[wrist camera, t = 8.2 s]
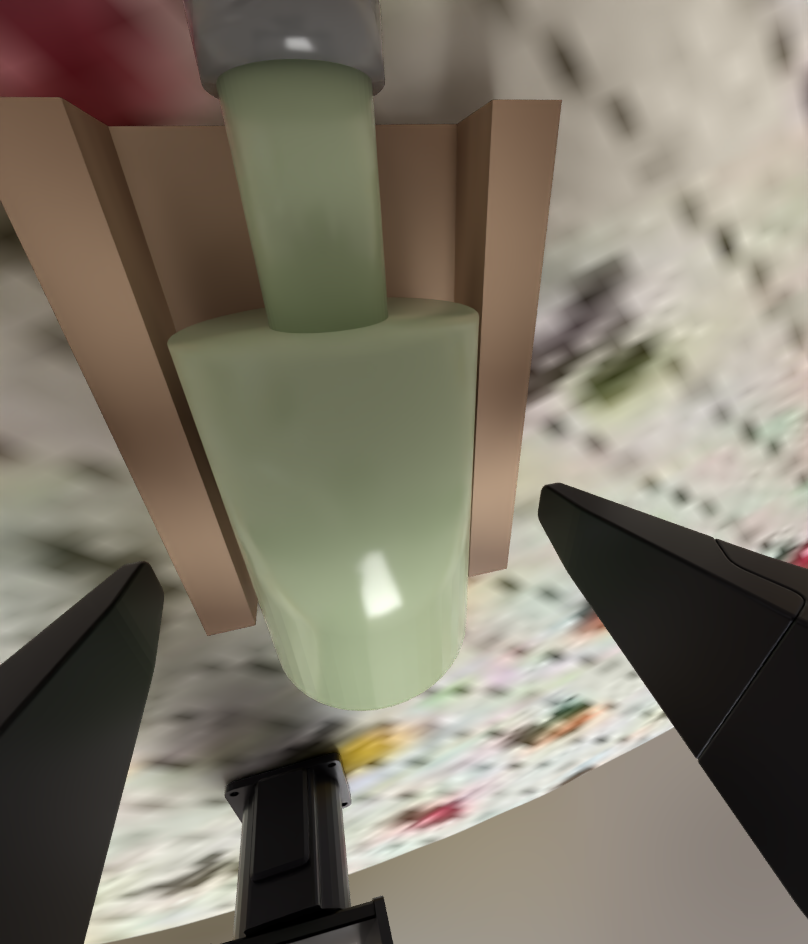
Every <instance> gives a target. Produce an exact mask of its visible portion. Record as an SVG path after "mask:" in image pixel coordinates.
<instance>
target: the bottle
mask: <svg viewBox="0 0 808 944" xmlns="http://www.w3.org/2000/svg"><path fill="white" fill-rule="evenodd" d="M183 6H184V10H185V14H186V18H187V23H188V27H189V31H190V36H191V40H192V44H193V48H194V53H195V57H196V61H197V66H198V70H199V74H200V79H201V83H202V86H203V88H204V89H205V90H206V91H207V92H208V93H209V94H211V95H212V96H214V97H216V98H218V99H219V100H220V105H221V109H222V114H223V118H224V123H225V127H226V132H227V137H228V141H229V146H230V150H231V155H232V159H233V164H234V168H235V173H236V178H237V182H238V187H239V191H240V196H241V200H242V205H243V209H244V214H245V219H246V223H247V228H248V232H249V237H250V241H251V246H252V251H253V255H254V260H255V264H256V269H257V273H258V278H259V282H260V287H261V292H262V296H263V301H264V305H265V308H259V309H253V310H248V311H243V312H238V313H233V314H229V315H225V316H221V317H217V318H213V319H210V320H206V321H203V322H200V323H197V324H194V325H192V326H189V327H186V328H184V329H182V330H180V331H178V332H177V333H175V334H174V335H172V336H171V337H170V338H169V339H168V342H167V345H168V348H169V351H170V354H171V357H172V360H173V362H174V365H175V368H176V371H177V374H178V376H179V379H180V382H181V385H182V388H183V391H184V393H185V396H186V399H187V402H188V405H189V407H190V410H191V413H192V416H193V419H194V422H195V424H196V427H197V430H198V433H199V436H200V439H201V441H202V444H203V447H204V450H205V453H206V455H207V458H208V461H209V464H210V467H211V470H212V472H213V475H214V478H215V481H216V484H217V486H218V489H219V492H220V495H221V498H222V501H223V503H224V506H225V509H226V512H227V515H228V517H229V520H230V523H231V526H232V529H233V532H234V534H235V537H236V540H237V543H238V546H239V548H240V551H241V554H242V557H243V560H244V563H245V565H246V568H247V571H248V574H249V577H250V579H251V582H252V585H253V588H254V591H255V594H256V596H257V599H258V602H259V605H260V608H261V610H262V613H263V616H264V619H265V622H266V625H267V627H268V630H269V633H270V636H271V639H272V641H273V644H274V647H275V650H276V653H277V656H278V658H279V661H280V663H281V666H282V668H283V670H284V672H285V673H286V675H287V676H288V678H289V679H290V681H291V682H292V683H293V684H294V685H295V686H296V687H297V688H298V689H299V690H300V691H302V692H303V693H304V694H306V695H307V696H308V697H310V698H312V699H314V700H316V701H317V702H319V703H322V704H325V705H328V706H331V707H334V708H339V709H344V710H355V711H366V710H378V709H382V708H387V707H392V706H395V705H397V704H400V703H403V702H406V701H408V700H410V699H412V698H414V697H416V696H418V695H420V694H421V693H423V692H424V691H425V690H427V689H428V688H430V687H431V686H433V685H434V684H435V683H436V682H437V681H438V680H439V679H440V678H441V677H442V676H443V675H444V674H445V673H446V672H447V670H448V669H449V668H450V667H451V665H452V664H453V662H454V660H455V659H456V657H457V655H458V653H459V651H460V648H461V646H462V643H463V639H464V635H465V628H466V612H467V589H468V565H469V542H470V519H471V495H472V472H473V449H474V425H475V402H476V379H477V355H478V332H479V314H478V312H477V311H476V310H474V309H473V308H471V307H469V306H466V305H463V304H459V303H455V302H450V301H443V300H435V299H424V298H405V297H387V290H386V276H385V261H384V247H383V233H382V218H381V204H380V189H379V175H378V160H377V146H376V132H375V117H374V103H373V96H375V95H376V94H378V93H379V92H380V91H381V90H382V89H383V87H384V85H385V77H384V59H383V42H382V24H381V7H380V3H379V0H183Z"/></svg>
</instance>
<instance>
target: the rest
mask: <svg viewBox="0 0 808 944" xmlns="http://www.w3.org/2000/svg"><path fill="white" fill-rule="evenodd" d="M561 103H562V100H492V101H490V102H489V103H487V104H486V105H484V106H483V107H481V108H480V109H478V110H477V111H475V112H474V113H472V114H471V115H470V116H468V117H467V118H465V119H464V120H462V121H461V122H459V123H458V124H391V125H375V132H376V146H377V160H378V175H379V189H380V204H381V218H382V233H383V247H384V261H385V276H386V290H387V297H405V298H424V299H435V300H443V301H450V302H455V303H459V304H463V305H466V306H469V307H471V308H473V309H474V310H476V311H477V312H478V314H479V332H478V355H477V379H476V402H475V425H474V449H473V472H472V495H471V519H470V542H469V565H468V576H469V577H471V576H476V575H480V574H484V573H489V572H493V571H498V570H502V569H507V563H508V554H509V546H510V537H511V529H512V520H513V512H514V503H515V495H516V486H517V478H518V469H519V461H520V452H521V444H522V435H523V426H524V418H525V409H526V401H527V392H528V384H529V375H530V367H531V358H532V350H533V341H534V333H535V324H536V316H537V307H538V299H539V290H540V282H541V273H542V265H543V256H544V248H545V239H546V231H547V222H548V214H549V205H550V197H551V188H552V180H553V171H554V163H555V154H556V146H557V137H558V128H559V120H560V111H561ZM0 200H1V202H2V204H3V206H4V209H5V211H6V213H7V215H8V217H9V219H10V221H11V223H12V225H13V228H14V230H15V232H16V234H17V236H18V238H19V240H20V242H21V244H22V246H23V249H24V251H25V253H26V255H27V257H28V259H29V261H30V263H31V265H32V268H33V270H34V272H35V274H36V276H37V278H38V280H39V282H40V284H41V286H42V289H43V291H44V293H45V295H46V297H47V299H48V301H49V303H50V305H51V308H52V310H53V312H54V314H55V316H56V318H57V320H58V322H59V324H60V326H61V329H62V331H63V333H64V335H65V337H66V339H67V341H68V343H69V345H70V348H71V350H72V352H73V354H74V356H75V358H76V360H77V362H78V364H79V366H80V369H81V371H82V373H83V375H84V377H85V379H86V381H87V383H88V385H89V388H90V390H91V392H92V394H93V396H94V398H95V400H96V402H97V404H98V406H99V409H100V411H101V413H102V415H103V417H104V419H105V421H106V423H107V425H108V428H109V430H110V432H111V434H112V436H113V438H114V440H115V442H116V444H117V446H118V449H119V451H120V453H121V455H122V457H123V459H124V461H125V463H126V465H127V468H128V470H129V472H130V474H131V476H132V478H133V480H134V482H135V484H136V486H137V489H138V491H139V493H140V495H141V497H142V499H143V501H144V503H145V505H146V507H147V510H148V512H149V514H150V516H151V518H152V520H153V522H154V524H155V526H156V529H157V531H158V533H159V535H160V537H161V539H162V541H163V543H164V545H165V547H166V550H167V552H168V554H169V556H170V558H171V560H172V562H173V564H174V566H175V569H176V571H177V573H178V575H179V577H180V579H181V581H182V583H183V585H184V587H185V590H186V592H187V594H188V596H189V598H190V600H191V602H192V604H193V606H194V609H195V611H196V613H197V615H198V617H199V619H200V621H201V623H202V625H203V627H204V630H205V632H206V634H207V636H210V635H214V634H219V633H223V632H227V631H232V630H236V629H241V628H245V627H250V626H254V625H256V615H257V604H258V599H257V596H256V594H255V591H254V588H253V585H252V582H251V579H250V577H249V574H248V571H247V568H246V565H245V563H244V560H243V557H242V554H241V551H240V548H239V546H238V543H237V540H236V537H235V534H234V532H233V529H232V526H231V523H230V520H229V517H228V515H227V512H226V509H225V506H224V503H223V501H222V498H221V495H220V492H219V489H218V486H217V484H216V481H215V478H214V475H213V472H212V470H211V467H210V464H209V461H208V458H207V455H206V453H205V450H204V447H203V444H202V441H201V439H200V436H199V433H198V430H197V427H196V424H195V422H194V419H193V416H192V413H191V410H190V407H189V405H188V402H187V399H186V396H185V393H184V391H183V388H182V385H181V382H180V379H179V376H178V374H177V371H176V368H175V365H174V362H173V360H172V357H171V354H170V351H169V348H168V345H167V342H168V339H169V338H170V337H171V336H172V335H174V334H175V333H177V332H178V331H180V330H182V329H184V328H186V327H189V326H192V325H194V324H197V323H200V322H203V321H206V320H210V319H213V318H217V317H221V316H225V315H229V314H233V313H238V312H243V311H248V310H253V309H259V308H265V305H264V301H263V296H262V292H261V287H260V282H259V278H258V273H257V269H256V264H255V260H254V255H253V251H252V246H251V241H250V237H249V232H248V228H247V223H246V219H245V214H244V209H243V205H242V200H241V196H240V191H239V187H238V182H237V178H236V173H235V168H234V164H233V159H232V155H231V150H230V146H229V141H228V137H227V132H226V127H225V126H107V125H105V124H104V123H102V122H100V121H99V120H97V119H95V118H94V117H92V116H90V115H89V114H87V113H86V112H84V111H82V110H81V109H79V108H77V107H76V106H74V105H72V104H71V103H69V102H68V101H66V100H64V99H63V98H61V97H0Z"/></svg>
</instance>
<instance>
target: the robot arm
mask: <svg viewBox="0 0 808 944" xmlns="http://www.w3.org/2000/svg"><path fill="white" fill-rule="evenodd" d="M538 518H539V521H540V523H541V525H542V527H543V528H544V530H545V532H546V534H547V536H548V538H549V540H550V541H551V543H552V545H553V547H554V549H555V551H556V552H557V554H558V556H559V558H560V560H561V562H562V563H563V565H564V567H565V569H566V570H567V572H568V573H569V575H570V576H571V578H572V580H573V581H574V582H575V584H576V585H577V587H578V588H579V590H580V591H581V593H582V594H583V595H584V597H585V598H586V600H587V601H588V603H589V604H590V606H591V607H592V609H593V610H594V611H595V613H596V614H597V616H598V617H599V619H600V620H601V622H602V623H603V624H604V626H605V627H606V629H607V630H608V632H609V633H610V635H611V636H612V638H613V639H614V640H615V642H616V643H617V645H618V646H619V648H620V649H621V651H622V652H623V653H624V655H625V656H626V658H627V659H628V661H629V662H630V664H631V665H632V666H633V668H634V669H635V671H636V672H637V674H638V675H639V677H640V678H641V680H642V681H643V682H644V684H645V685H646V687H647V688H648V690H649V691H650V693H651V694H652V695H653V697H654V698H655V700H656V701H657V703H658V704H659V706H660V707H661V709H662V710H663V711H664V713H665V714H666V716H667V717H668V719H669V720H670V722H671V723H672V724H673V726H674V727H675V729H676V730H677V732H678V733H679V735H680V736H681V737H682V739H683V740H684V742H685V743H686V745H687V746H688V748H689V749H690V750H691V752H692V753H693V755H694V756H695V758H697V759H698V762H699V764H700V765H701V767H702V768H703V770H704V771H705V773H706V774H707V776H708V777H709V779H710V780H711V781H712V783H713V784H714V786H715V787H716V789H717V790H718V792H719V793H720V794H721V796H722V797H723V799H724V800H725V802H726V803H727V804H728V806H729V807H730V809H731V810H732V812H733V813H734V815H735V816H736V818H737V819H738V820H739V822H740V823H741V825H742V826H743V828H744V829H745V830H746V832H747V834H748V835H749V836H750V838H751V839H752V841H753V842H754V844H755V845H756V846H757V848H758V849H759V851H760V852H761V854H762V855H763V857H764V858H765V860H766V861H767V862H768V864H769V865H770V867H771V868H772V870H773V871H774V873H775V874H776V876H777V877H778V878H779V880H780V881H781V883H782V884H783V886H784V887H785V889H786V890H787V891H788V893H789V894H790V896H791V897H792V899H793V900H794V902H795V903H796V904H797V906H798V907H799V908H800V910H801V911H802V912H803V913H804V915H805V916H806V917H807V918H808V569H806V568H803V567H800V566H796V565H793V564H790V563H787V562H784V561H781V560H778V559H774V558H771V557H768V556H765V555H762V554H759V553H756V552H753V551H751V550H748V549H745V548H742V547H739V546H736V545H733V544H730V543H728V542H725V541H722V540H719V539H714V538H713V537H711V536H708V535H705V534H702V533H699V532H697V531H694V530H691V529H688V528H685V527H683V526H680V525H677V524H674V523H671V522H669V521H666V520H663V519H660V518H657V517H655V516H652V515H649V514H646V513H643V512H641V511H638V510H635V509H632V508H629V507H627V506H624V505H621V504H618V503H615V502H613V501H610V500H607V499H604V498H601V497H599V496H596V495H593V494H590V493H588V492H585V491H582V490H579V489H576V488H574V487H571V486H568V485H565V484H562V483H553V484H548V485H545V486H543V488H542V490H541V495H540V501H539V508H538ZM163 602H164V593H163V589H162V586H161V585H160V583H159V581H158V579H157V577H156V575H155V573H154V571H153V569H152V567H151V566H150V564H149V563H148V562H145V561H141V562H135V563H130V564H126V565H123V566H122V567H120V568H119V569H118V570H117V571H115V572H114V573H113V574H112V575H110V576H109V577H108V578H107V579H106V580H104V581H103V582H102V583H101V584H99V585H98V586H97V587H96V588H95V589H93V590H92V591H91V592H90V593H88V594H87V595H86V596H85V597H83V598H82V599H81V600H80V601H79V602H77V603H76V604H75V605H74V606H72V607H71V608H70V609H69V610H68V611H66V612H65V613H64V614H63V615H61V616H60V617H59V618H58V619H56V620H55V621H54V622H53V623H52V624H50V625H49V626H48V627H47V628H45V629H44V630H43V631H42V632H40V633H39V634H38V635H37V636H36V637H34V638H33V639H32V640H31V641H29V642H28V643H27V644H26V645H25V646H23V647H22V648H21V649H20V650H18V651H17V652H16V653H15V654H13V655H12V656H11V657H10V658H9V659H7V660H6V661H5V662H4V663H2V664H1V665H0V944H84V941H85V937H86V933H87V929H88V925H89V921H90V918H91V914H92V910H93V906H94V902H95V898H96V894H97V890H98V886H99V883H100V879H101V875H102V871H103V867H104V863H105V859H106V855H107V852H108V848H109V844H110V840H111V836H112V832H113V828H114V824H115V820H116V817H117V813H118V809H119V805H120V801H121V797H122V793H123V789H124V785H125V782H126V778H127V774H128V770H129V766H130V762H131V758H132V754H133V750H134V747H135V743H136V739H137V735H138V731H139V727H140V723H141V719H142V716H143V712H144V708H145V704H146V700H147V696H148V692H149V688H150V684H151V681H152V676H153V672H154V667H155V661H156V655H157V647H158V640H159V632H160V625H161V617H162V610H163ZM225 798H226V799H227V801H228V802H229V804H230V805H231V807H232V809H233V810H234V812H235V813H236V815H237V816H238V818H239V819H240V821H241V822H242V834H241V846H240V858H239V870H238V882H237V895H236V907H235V919H234V931H233V940H232V941H229V942H225V943H222V944H393V940H392V936H391V931H390V926H389V921H388V916H387V912H386V907H385V902H384V897H383V896H380V897H376V898H373V899H372V901H371V902H367V903H363V904H360V905H356V906H353V907H351V903H350V891H349V880H348V869H347V858H346V847H345V836H344V825H343V814H342V808H345V807H348V806H349V805H350V804H351V794H350V791H349V787H348V783H347V780H346V776H345V772H344V769H343V765H342V761H341V758H340V755H339V754H338V753H331V754H327V755H324V756H320V757H317V758H313V759H310V760H307V761H303V762H300V763H296V764H293V765H289V766H286V767H283V768H279V769H276V770H272V771H269V772H265V773H262V774H258V775H255V776H252V777H248V778H245V779H241V780H238V781H234V782H231V783H229V784H228V785H227V786H226V788H225Z"/></svg>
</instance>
